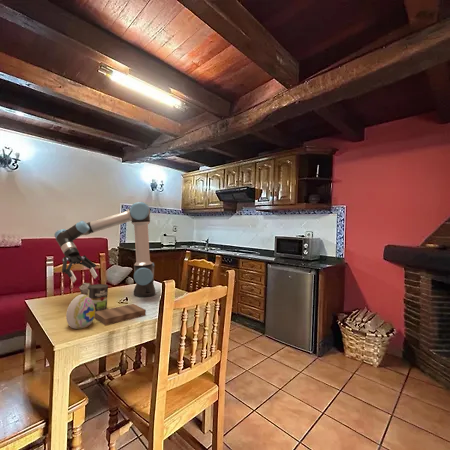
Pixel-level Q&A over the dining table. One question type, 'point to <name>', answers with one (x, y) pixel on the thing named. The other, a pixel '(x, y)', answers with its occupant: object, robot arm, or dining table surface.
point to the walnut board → (119, 314)
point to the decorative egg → (80, 312)
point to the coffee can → (98, 296)
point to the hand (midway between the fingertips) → (85, 278)
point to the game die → (84, 287)
